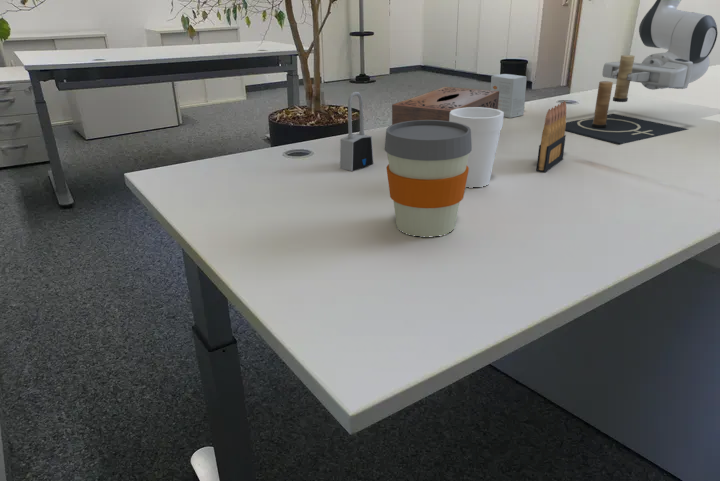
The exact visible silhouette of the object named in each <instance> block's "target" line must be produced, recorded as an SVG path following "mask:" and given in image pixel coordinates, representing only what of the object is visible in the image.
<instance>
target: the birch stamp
mask: <svg viewBox="0 0 720 481" xmlns="http://www.w3.org/2000/svg"><path fill="white" fill-rule="evenodd" d="M619 62H620V65H619V71H618V77H617V79H616V84H615V89H614V94H613V97H612V101H613V102H615V103H616V102H617V103H626V102H628V100H629V97H628V95H629V90H630V84H631V81H627V78H628V77H627V75H628V74H629V73H632V68H633V63H635V55H633V54H622V55H620V60H619Z"/></svg>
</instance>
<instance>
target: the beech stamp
mask: <svg viewBox="0 0 720 481" xmlns="http://www.w3.org/2000/svg"><path fill="white" fill-rule="evenodd" d="M613 84H614V83H613V81H608V80H607V81H606V80H604V81H603V80H602V81H599V82H598V88H597V95H596V101H595V108H594V112H593V113H594V114H593V117H594V120H593V123H592V127H594V128H606V126H607V124H606V120H607V115H609V108H610V101H611V96H612V90H613Z"/></svg>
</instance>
